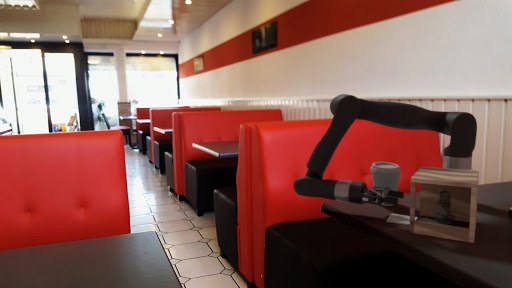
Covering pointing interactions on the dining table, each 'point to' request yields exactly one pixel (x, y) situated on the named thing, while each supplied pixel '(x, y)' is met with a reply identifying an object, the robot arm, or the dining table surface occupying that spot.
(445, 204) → the salt shaker
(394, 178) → the disposable coffee cup
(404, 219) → the mat
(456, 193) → the hutch
